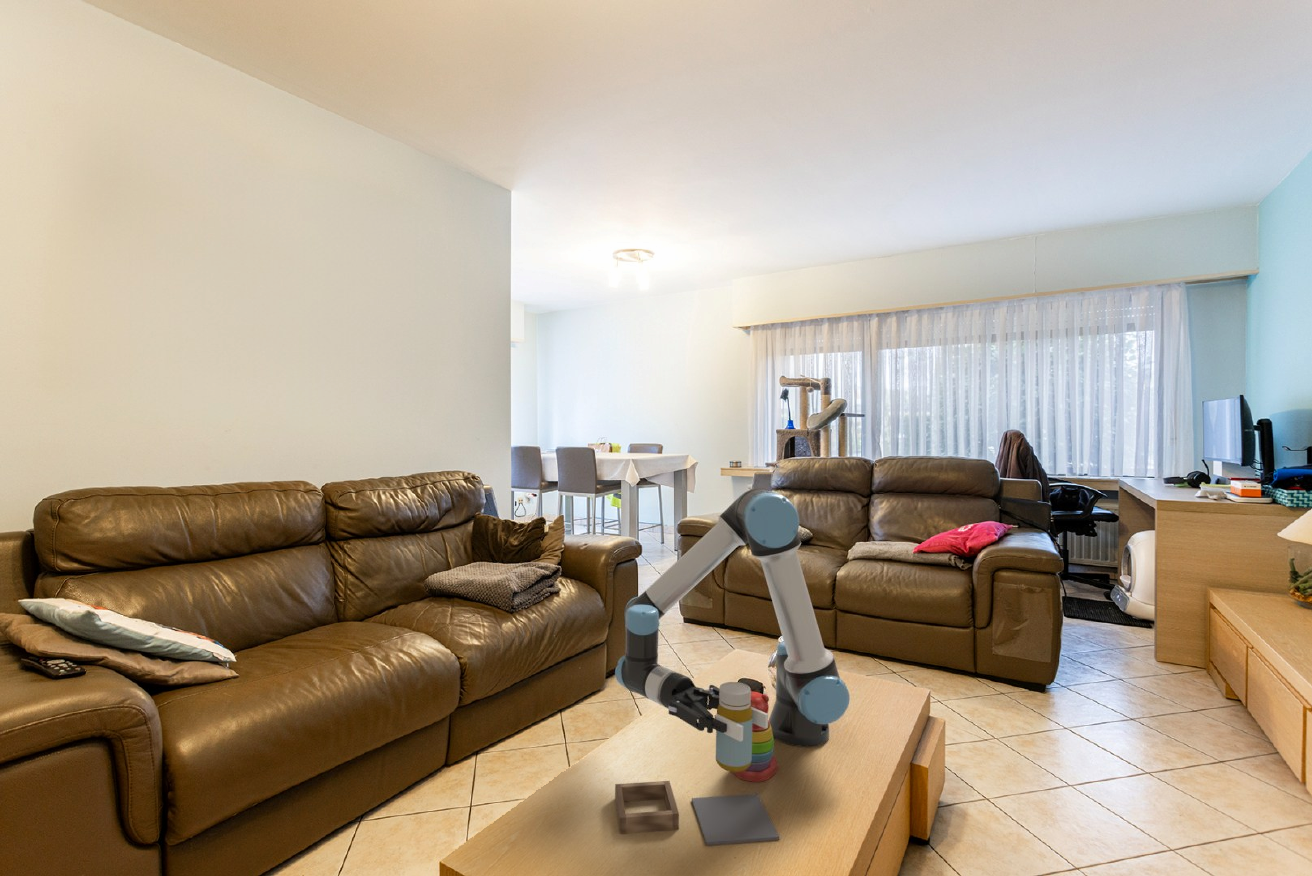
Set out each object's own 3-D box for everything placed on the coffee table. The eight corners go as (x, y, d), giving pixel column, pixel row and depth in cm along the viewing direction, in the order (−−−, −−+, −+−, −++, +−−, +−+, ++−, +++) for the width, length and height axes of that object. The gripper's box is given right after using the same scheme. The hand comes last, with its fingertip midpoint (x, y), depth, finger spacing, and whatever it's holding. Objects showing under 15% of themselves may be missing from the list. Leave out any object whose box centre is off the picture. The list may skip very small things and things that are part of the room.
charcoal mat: (757, 796, 132) (757, 793, 132) (779, 839, 118) (779, 836, 118) (691, 801, 130) (691, 798, 130) (706, 845, 116) (706, 842, 116)
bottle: (750, 775, 119) (752, 697, 119) (713, 770, 121) (715, 693, 121) (752, 756, 126) (753, 683, 126) (717, 752, 128) (719, 679, 128)
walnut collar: (669, 794, 132) (669, 780, 132) (678, 829, 120) (678, 813, 120) (615, 798, 130) (615, 784, 130) (619, 833, 119) (619, 818, 119)
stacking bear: (778, 762, 145) (779, 686, 145) (775, 786, 136) (776, 704, 135) (731, 755, 148) (732, 681, 148) (725, 778, 138) (726, 698, 138)
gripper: (701, 694, 143) (784, 730, 127) (636, 720, 130) (719, 765, 113) (702, 661, 143) (785, 693, 127) (636, 684, 130) (720, 723, 113)
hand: (754, 727), depth 120 cm, fingers closed on bottle, 7 cm apart
